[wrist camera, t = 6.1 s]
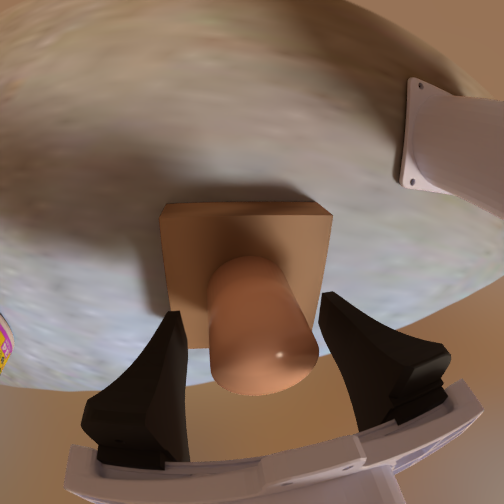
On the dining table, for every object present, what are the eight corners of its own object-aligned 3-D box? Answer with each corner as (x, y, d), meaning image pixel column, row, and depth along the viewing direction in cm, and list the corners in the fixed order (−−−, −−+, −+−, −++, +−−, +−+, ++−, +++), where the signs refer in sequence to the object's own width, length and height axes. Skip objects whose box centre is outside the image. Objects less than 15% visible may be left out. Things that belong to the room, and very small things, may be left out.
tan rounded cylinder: (287, 251, 15) (325, 316, 10) (285, 316, 17) (312, 385, 12) (201, 261, 14) (201, 333, 9) (212, 326, 16) (218, 400, 11)
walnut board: (316, 202, 16) (333, 215, 14) (299, 317, 20) (309, 339, 18) (166, 203, 15) (158, 218, 13) (180, 324, 19) (178, 348, 17)
